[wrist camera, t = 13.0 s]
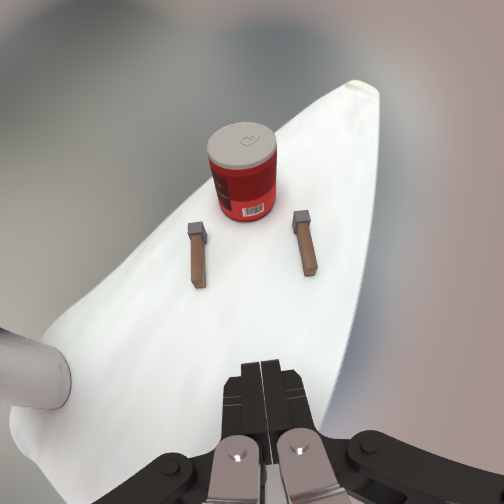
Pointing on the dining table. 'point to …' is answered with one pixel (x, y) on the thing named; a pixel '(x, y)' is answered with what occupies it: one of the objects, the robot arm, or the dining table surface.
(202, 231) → the posts
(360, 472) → the robot arm
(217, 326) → the dining table surface
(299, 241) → the channel walls
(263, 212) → the canned food
